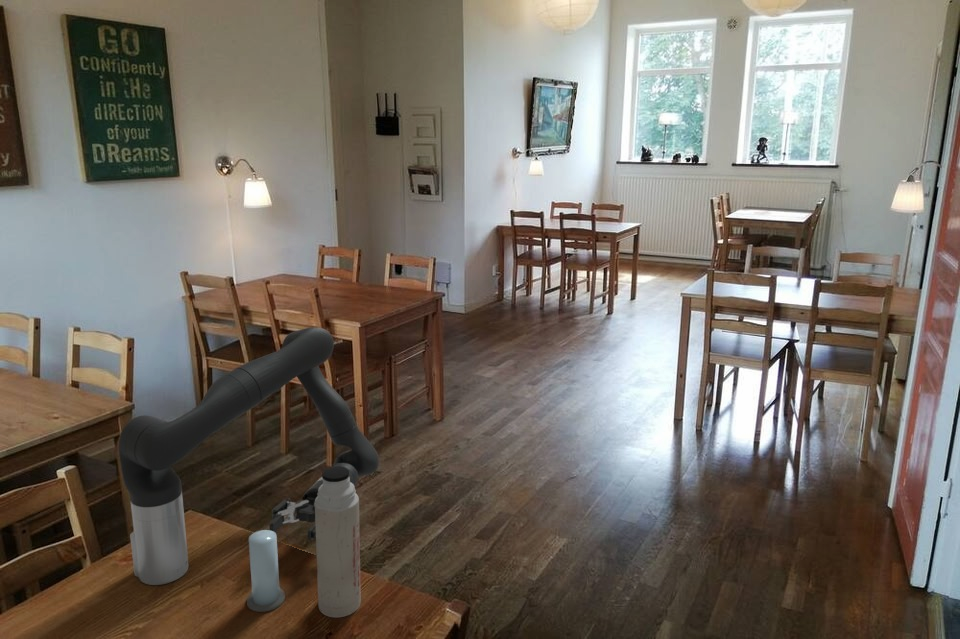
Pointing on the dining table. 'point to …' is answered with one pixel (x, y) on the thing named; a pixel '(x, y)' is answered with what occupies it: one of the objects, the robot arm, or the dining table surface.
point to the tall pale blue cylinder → (264, 567)
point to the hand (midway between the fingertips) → (290, 532)
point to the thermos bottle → (337, 544)
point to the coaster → (265, 608)
